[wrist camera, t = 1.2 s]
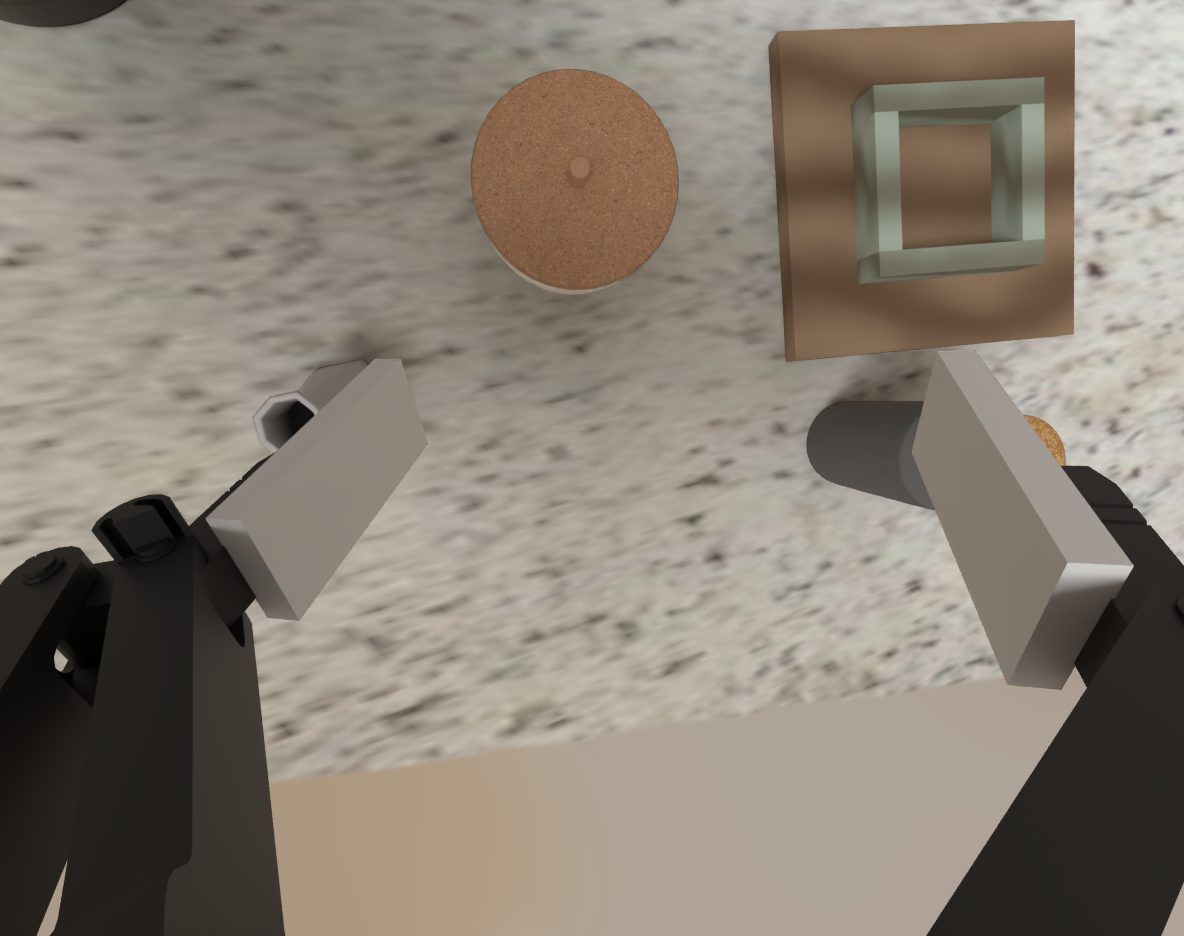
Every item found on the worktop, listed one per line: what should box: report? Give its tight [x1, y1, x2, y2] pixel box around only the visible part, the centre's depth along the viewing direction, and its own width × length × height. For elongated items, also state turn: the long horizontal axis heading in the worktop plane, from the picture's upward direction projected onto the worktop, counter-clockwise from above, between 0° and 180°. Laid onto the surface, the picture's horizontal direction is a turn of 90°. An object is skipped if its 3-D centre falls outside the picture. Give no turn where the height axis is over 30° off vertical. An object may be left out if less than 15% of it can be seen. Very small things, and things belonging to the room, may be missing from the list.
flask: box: [252, 360, 368, 453], centre depth 33 cm, size 7×7×10 cm
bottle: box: [807, 401, 1066, 510], centre depth 34 cm, size 6×6×15 cm
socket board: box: [769, 20, 1075, 362], centre depth 39 cm, size 20×20×4 cm
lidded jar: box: [471, 69, 679, 295], centre depth 34 cm, size 11×11×9 cm
